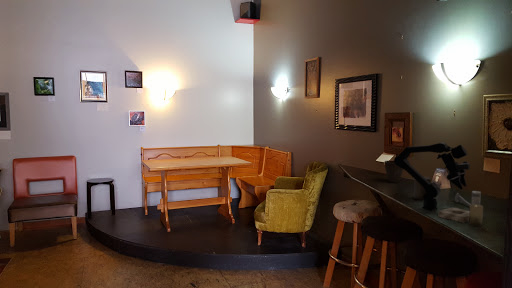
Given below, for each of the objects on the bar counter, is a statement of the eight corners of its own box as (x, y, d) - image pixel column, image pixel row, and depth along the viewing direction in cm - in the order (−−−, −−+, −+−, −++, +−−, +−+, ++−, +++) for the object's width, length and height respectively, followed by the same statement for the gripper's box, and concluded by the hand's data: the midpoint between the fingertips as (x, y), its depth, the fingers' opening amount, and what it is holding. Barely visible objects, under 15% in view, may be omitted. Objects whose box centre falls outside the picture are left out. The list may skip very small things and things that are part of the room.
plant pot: (379, 180, 316) (380, 161, 314) (393, 179, 322) (394, 159, 320) (393, 184, 302) (394, 163, 301) (407, 182, 309) (408, 162, 307)
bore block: (438, 216, 218) (438, 211, 218) (451, 212, 226) (452, 207, 226) (463, 222, 207) (464, 217, 206) (477, 218, 215) (477, 212, 214)
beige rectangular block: (466, 224, 205) (467, 205, 203) (472, 222, 208) (473, 203, 207) (478, 227, 200) (479, 207, 199) (484, 225, 203) (485, 206, 202)
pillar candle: (431, 200, 253) (432, 177, 252) (415, 199, 255) (416, 176, 254) (428, 197, 263) (429, 174, 261) (412, 196, 264) (413, 174, 263)
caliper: (454, 202, 251) (455, 192, 250) (456, 201, 251) (456, 192, 250) (475, 210, 230) (476, 200, 230) (477, 210, 230) (477, 200, 230)
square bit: (470, 215, 221) (471, 192, 219) (471, 213, 224) (472, 190, 223) (479, 216, 219) (480, 193, 217) (479, 214, 222) (480, 191, 221)
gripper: (459, 158, 213) (474, 185, 209) (467, 155, 227) (481, 179, 224) (440, 167, 220) (454, 192, 216) (449, 163, 234) (462, 187, 230)
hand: (463, 187), depth 221 cm, fingers open, 9 cm apart
